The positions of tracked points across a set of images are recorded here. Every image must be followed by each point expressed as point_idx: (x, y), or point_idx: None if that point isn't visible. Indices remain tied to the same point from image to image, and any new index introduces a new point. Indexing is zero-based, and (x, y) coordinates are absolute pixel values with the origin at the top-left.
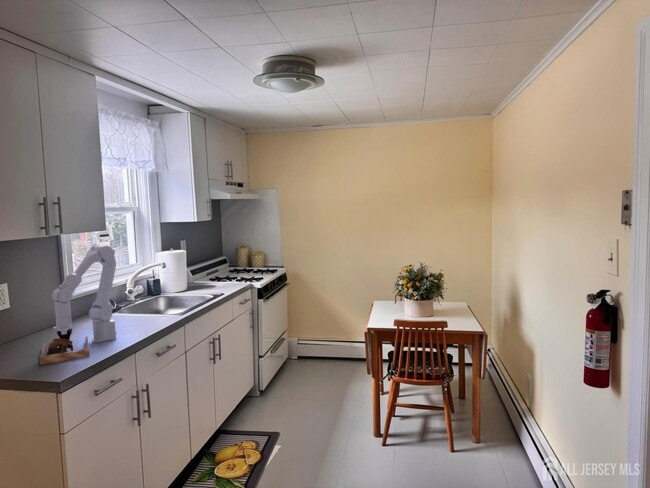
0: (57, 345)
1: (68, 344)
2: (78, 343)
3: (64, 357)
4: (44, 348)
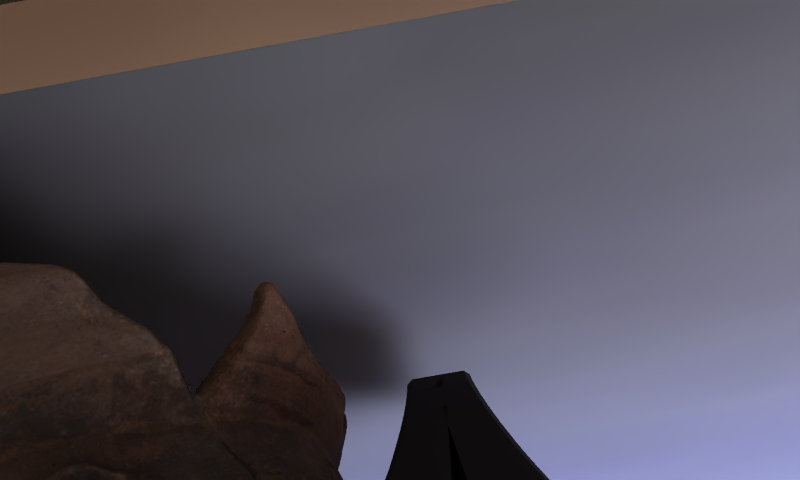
0: (286, 368)
1: None
2: (729, 465)
3: None
4: (244, 33)
